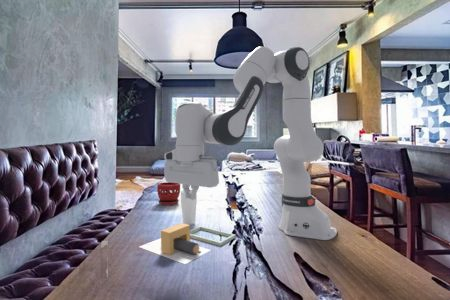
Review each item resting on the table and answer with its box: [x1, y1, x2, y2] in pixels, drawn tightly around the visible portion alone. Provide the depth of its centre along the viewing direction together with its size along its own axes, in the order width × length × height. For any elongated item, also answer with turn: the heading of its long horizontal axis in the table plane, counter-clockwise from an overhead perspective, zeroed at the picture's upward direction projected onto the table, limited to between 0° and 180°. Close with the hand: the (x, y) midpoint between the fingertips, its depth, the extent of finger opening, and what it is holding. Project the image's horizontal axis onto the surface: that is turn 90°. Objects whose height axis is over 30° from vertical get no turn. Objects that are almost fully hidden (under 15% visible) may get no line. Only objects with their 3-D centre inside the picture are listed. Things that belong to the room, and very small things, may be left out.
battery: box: [173, 238, 200, 255], centre depth 88 cm, size 13×4×4 cm, turn 54°
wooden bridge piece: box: [160, 222, 191, 255], centre depth 88 cm, size 4×9×7 cm, turn 144°
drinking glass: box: [180, 189, 198, 226], centre depth 116 cm, size 7×7×15 cm
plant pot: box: [156, 182, 181, 206], centre depth 156 cm, size 13×13×12 cm
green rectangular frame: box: [190, 225, 236, 247], centre depth 99 cm, size 17×9×2 cm, turn 54°
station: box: [138, 237, 212, 265], centre depth 89 cm, size 22×12×2 cm, turn 54°
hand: (190, 198), depth 84 cm, fingers closed
